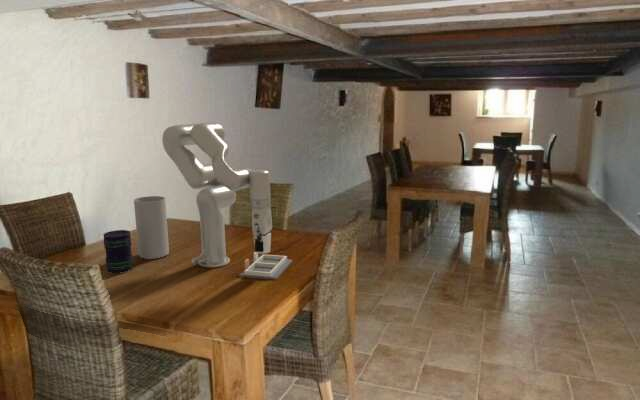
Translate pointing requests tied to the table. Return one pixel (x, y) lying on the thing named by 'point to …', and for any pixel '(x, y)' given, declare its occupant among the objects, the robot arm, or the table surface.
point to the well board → (265, 266)
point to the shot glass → (265, 242)
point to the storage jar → (118, 251)
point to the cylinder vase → (151, 227)
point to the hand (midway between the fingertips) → (262, 248)
